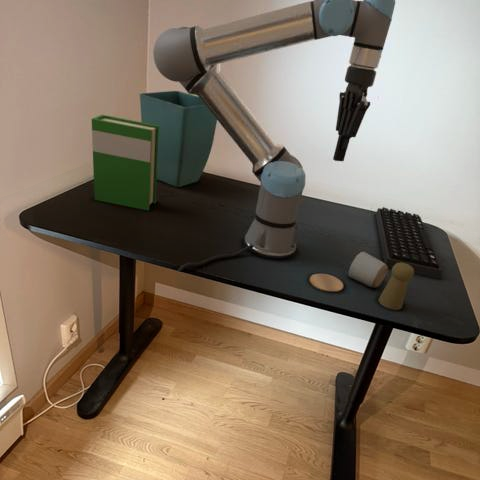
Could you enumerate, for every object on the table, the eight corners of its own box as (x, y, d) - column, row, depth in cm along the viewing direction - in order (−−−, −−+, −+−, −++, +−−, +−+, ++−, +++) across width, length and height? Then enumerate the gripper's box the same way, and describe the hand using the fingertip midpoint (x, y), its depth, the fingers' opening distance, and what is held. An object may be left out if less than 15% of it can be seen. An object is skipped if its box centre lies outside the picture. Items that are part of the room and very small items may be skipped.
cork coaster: (319, 293, 115) (319, 291, 114) (304, 275, 121) (304, 274, 121) (349, 291, 118) (349, 290, 117) (332, 274, 124) (333, 272, 124)
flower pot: (178, 193, 158) (185, 106, 142) (136, 177, 166) (138, 92, 150) (212, 183, 173) (221, 103, 157) (172, 168, 180) (177, 90, 164)
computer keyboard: (438, 278, 132) (443, 267, 130) (384, 266, 133) (389, 255, 131) (417, 223, 169) (421, 213, 167) (375, 214, 170) (379, 205, 168)
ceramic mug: (372, 293, 119) (381, 267, 114) (345, 280, 122) (353, 254, 118) (388, 281, 126) (397, 256, 122) (362, 269, 130) (370, 245, 126)
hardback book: (155, 202, 148) (159, 125, 134) (148, 210, 142) (151, 130, 128) (103, 192, 149) (102, 114, 135) (94, 199, 143) (91, 118, 129)
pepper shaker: (403, 302, 117) (419, 264, 111) (400, 312, 113) (416, 274, 106) (380, 294, 119) (394, 257, 113) (376, 304, 114) (391, 266, 108)
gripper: (388, 73, 112) (360, 168, 125) (362, 65, 122) (339, 154, 135) (362, 69, 110) (336, 166, 123) (338, 61, 120) (317, 152, 133)
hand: (338, 160), depth 129 cm, fingers closed
